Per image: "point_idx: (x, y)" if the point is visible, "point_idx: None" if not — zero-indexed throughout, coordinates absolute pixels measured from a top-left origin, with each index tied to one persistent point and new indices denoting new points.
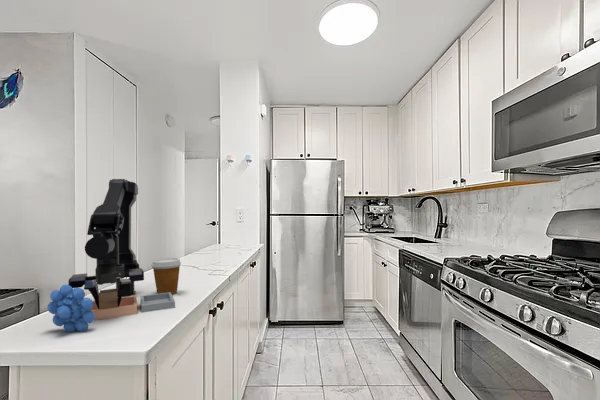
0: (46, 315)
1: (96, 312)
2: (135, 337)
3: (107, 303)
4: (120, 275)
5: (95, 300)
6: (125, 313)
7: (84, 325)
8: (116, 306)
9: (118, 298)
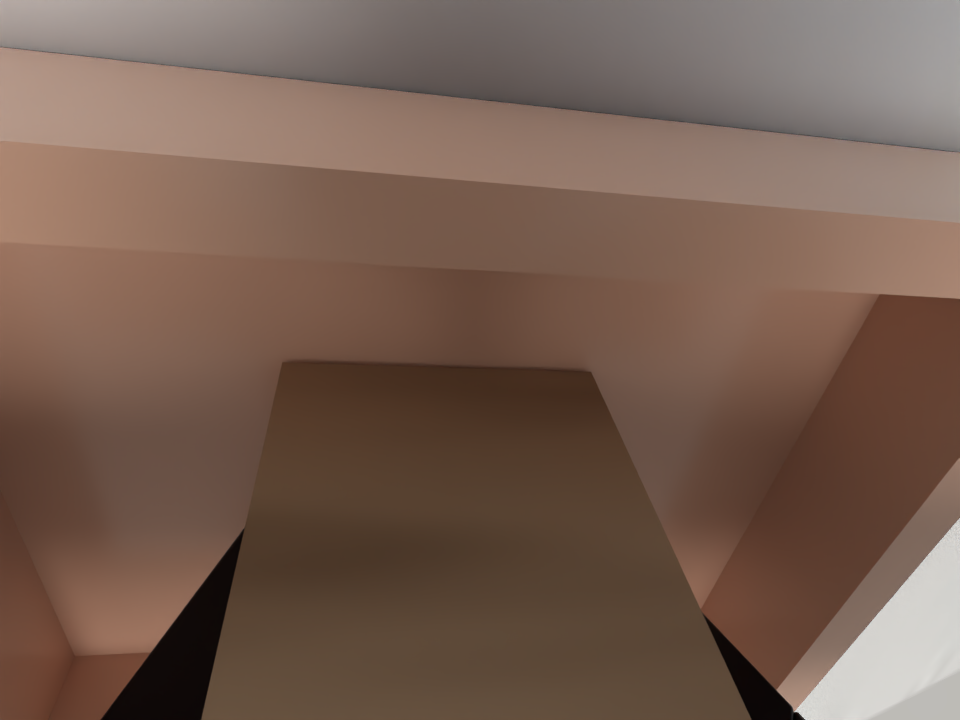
0: (948, 654)
1: (766, 195)
2: None
3: (486, 534)
4: None
5: (744, 670)
6: (26, 80)
7: None
8: (282, 457)
9: (209, 679)
